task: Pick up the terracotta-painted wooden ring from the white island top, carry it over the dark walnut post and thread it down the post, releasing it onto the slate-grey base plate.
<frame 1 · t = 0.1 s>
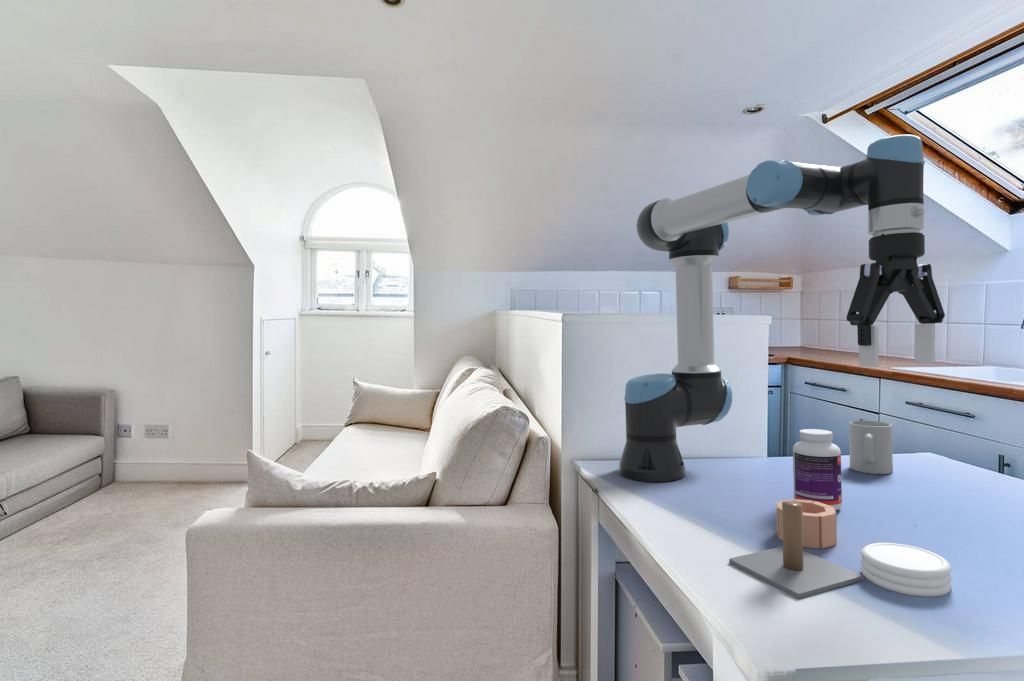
hand: (897, 364, 91), 28 cm above the table, fingers open, 13 cm apart
pill bottle: (817, 507, 105), on the table
mug: (870, 472, 129), on the table
ring: (805, 537, 90), on the table
post block: (793, 571, 79), on the table
coaster: (904, 582, 75), on the table
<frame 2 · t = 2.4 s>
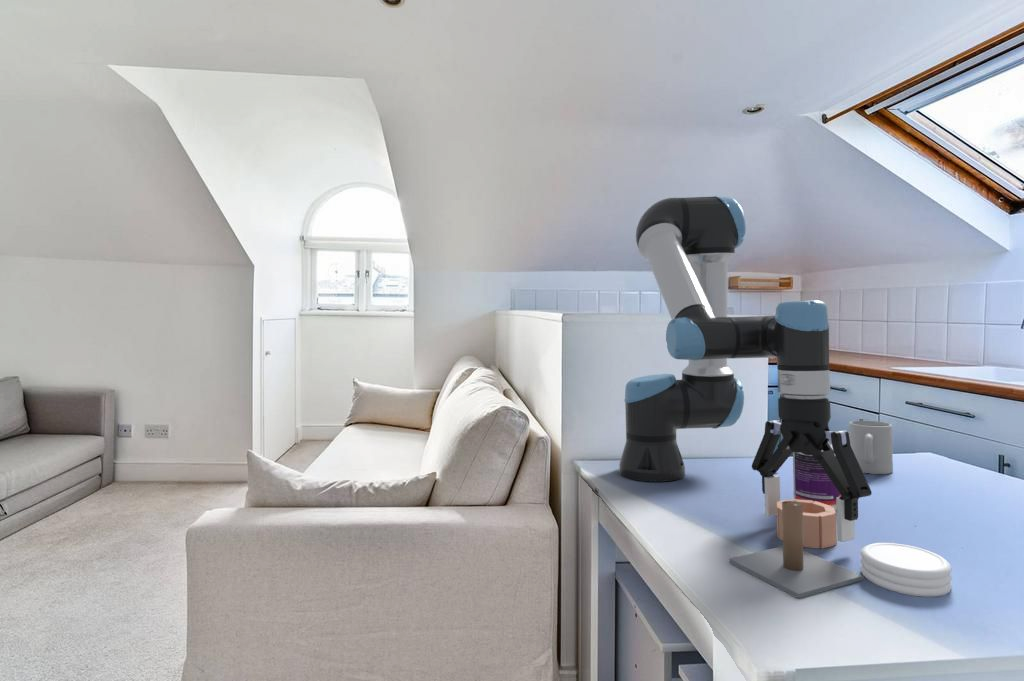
hand: (806, 526, 90), 2 cm above the table, fingers open, 13 cm apart
nothing on the table moved.
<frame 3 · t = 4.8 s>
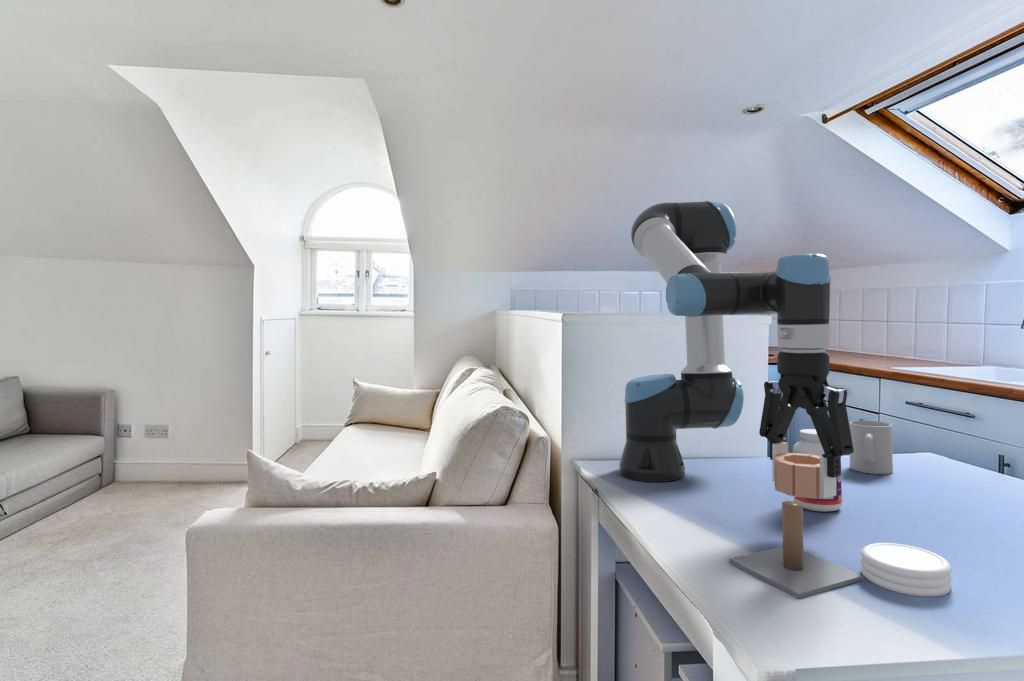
hand: (802, 487, 91), 8 cm above the table, fingers closed on ring, 8 cm apart
ring: (803, 489, 91), point 8 cm above the table, touching gripper
everything else where it was.
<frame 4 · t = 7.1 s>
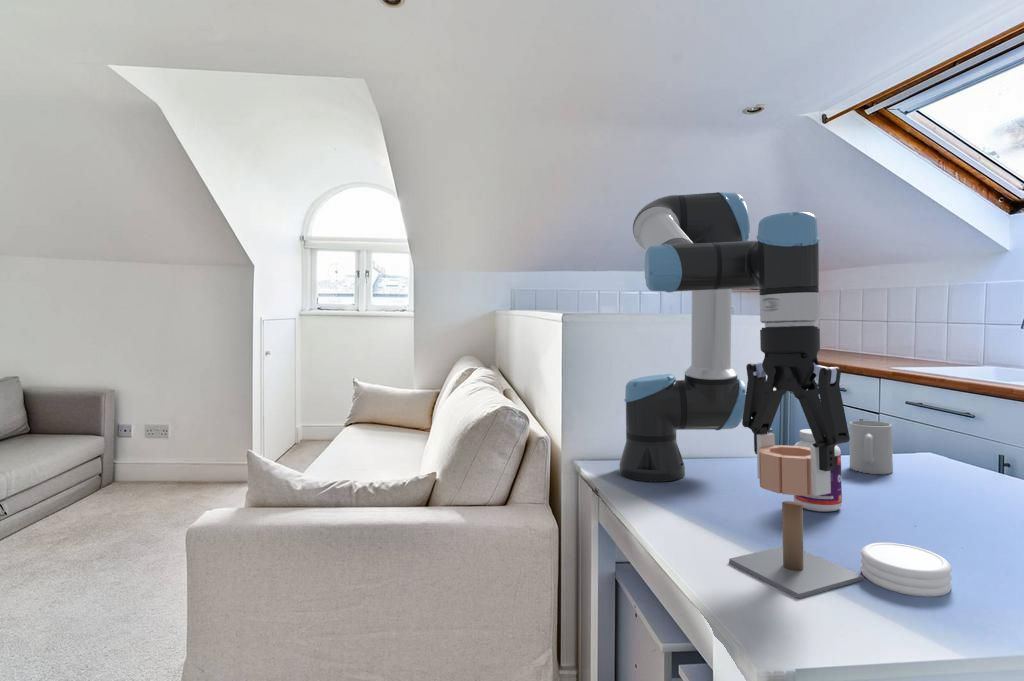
hand: (792, 485, 78), 12 cm above the table, fingers closed on ring, 8 cm apart
ring: (792, 486, 78), point 12 cm above the table, touching gripper
everything else where it was.
when the fingers open (1 cm above the table, at t = 9.8 s): ring stays where it is, resting on post block.
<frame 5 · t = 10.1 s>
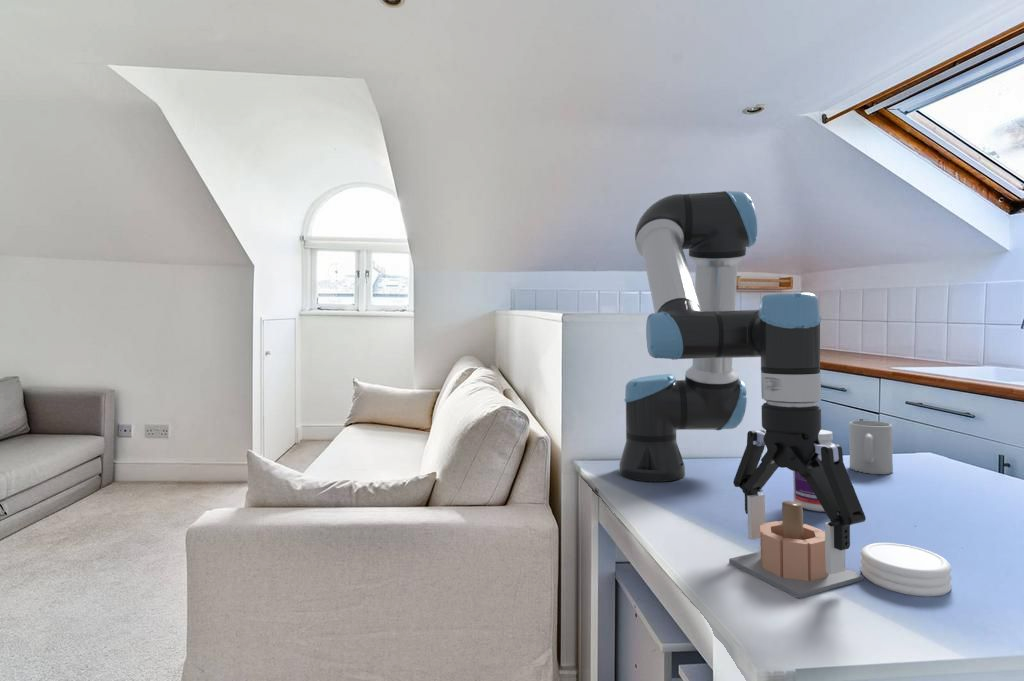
hand: (793, 553, 79), 3 cm above the table, fingers open, 12 cm apart
ring: (793, 566, 79), point 1 cm above the table, touching post block
everything else where it was.
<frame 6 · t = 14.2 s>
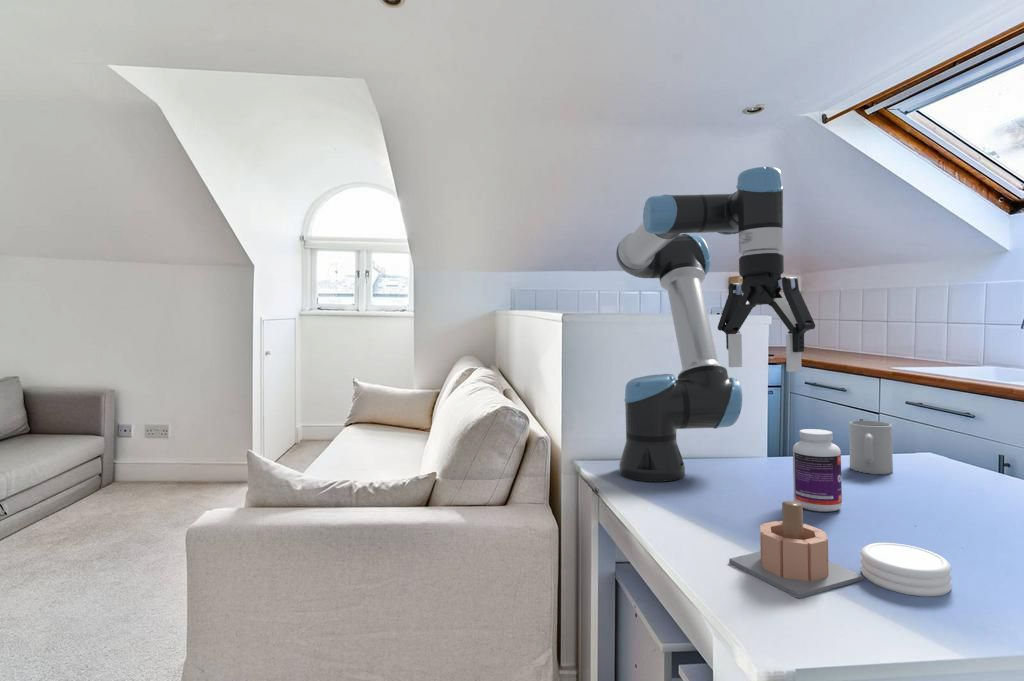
hand: (762, 369, 103), 27 cm above the table, fingers open, 13 cm apart
nothing on the table moved.
at the end: ring 0.0 cm off-centre on the post block, point 0.6 cm above the post block's base; ring tilted 0°; the gripper is holding nothing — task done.
